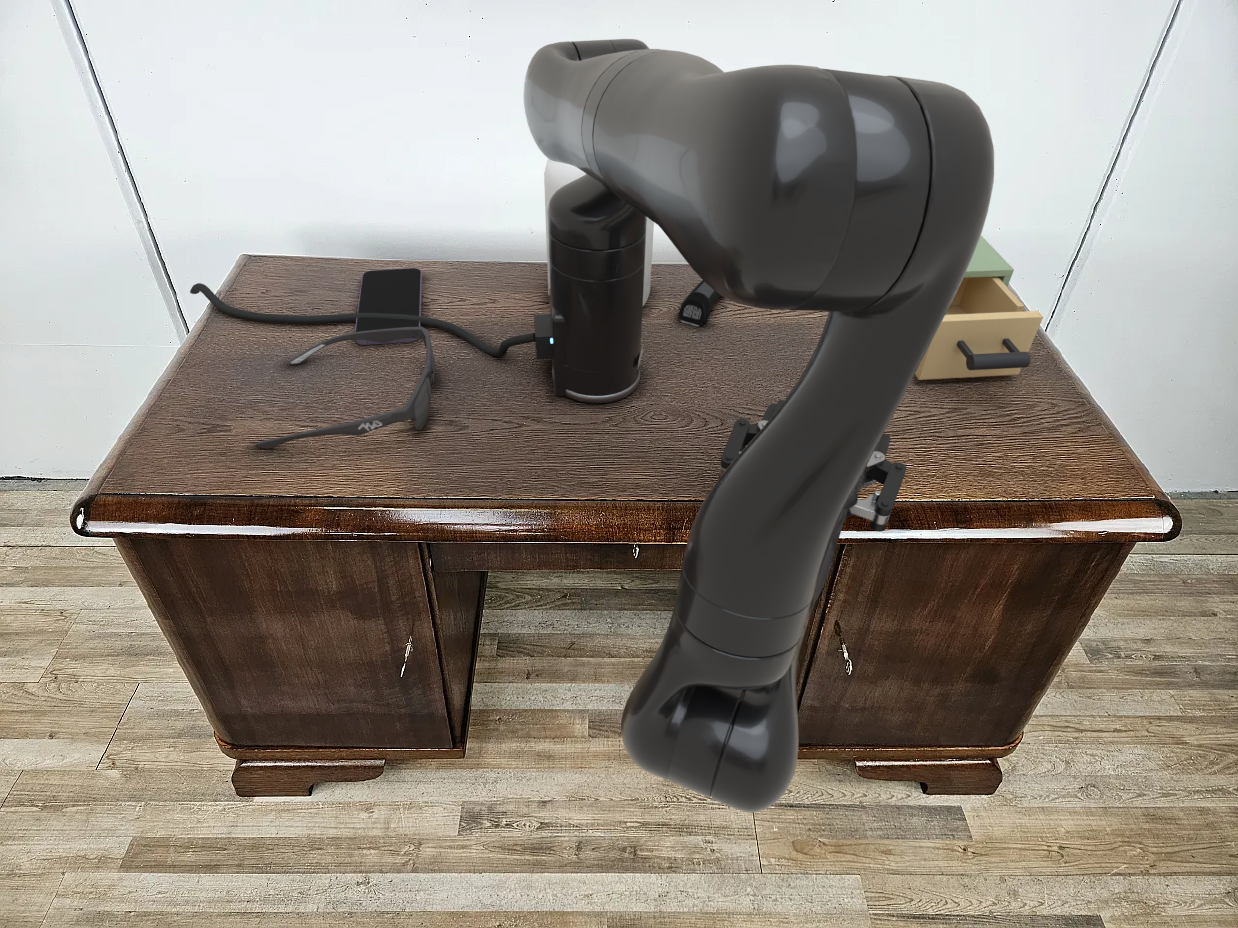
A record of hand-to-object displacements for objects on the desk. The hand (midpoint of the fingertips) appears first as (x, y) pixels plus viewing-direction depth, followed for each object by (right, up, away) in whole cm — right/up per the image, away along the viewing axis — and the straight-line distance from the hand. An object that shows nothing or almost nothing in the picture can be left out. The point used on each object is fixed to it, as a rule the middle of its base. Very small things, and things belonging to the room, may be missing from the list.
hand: (829, 420), depth 72 cm
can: (-21, +17, +29) cm, 40 cm away
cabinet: (+18, +15, +29) cm, 37 cm away
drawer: (+19, +9, +20) cm, 29 cm away
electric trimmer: (-7, +17, +30) cm, 35 cm away
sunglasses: (-45, +2, +13) cm, 47 cm away
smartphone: (-46, +15, +26) cm, 54 cm away
